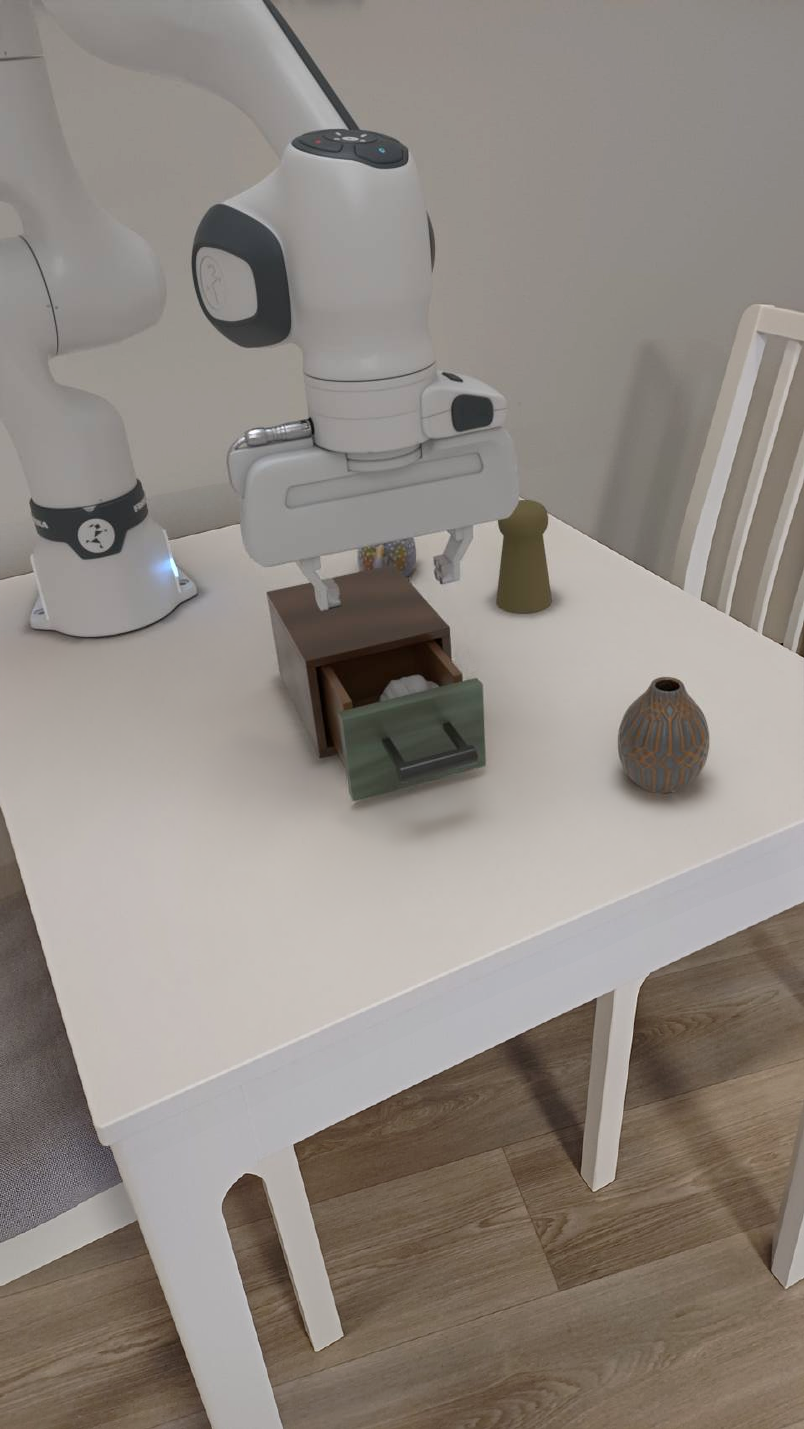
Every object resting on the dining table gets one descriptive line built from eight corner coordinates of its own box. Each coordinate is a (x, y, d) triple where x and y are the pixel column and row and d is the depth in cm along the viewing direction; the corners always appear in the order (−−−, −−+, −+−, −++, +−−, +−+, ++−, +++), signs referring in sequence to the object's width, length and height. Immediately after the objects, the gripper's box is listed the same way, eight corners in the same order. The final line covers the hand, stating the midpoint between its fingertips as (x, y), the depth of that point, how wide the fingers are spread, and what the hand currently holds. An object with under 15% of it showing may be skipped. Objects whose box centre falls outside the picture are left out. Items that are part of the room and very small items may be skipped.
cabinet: (455, 723, 88) (450, 627, 83) (319, 758, 85) (305, 661, 80) (402, 651, 100) (394, 564, 95) (280, 680, 97) (266, 591, 92)
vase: (641, 744, 83) (647, 653, 79) (720, 771, 79) (731, 676, 75) (600, 785, 79) (603, 691, 74) (680, 816, 75) (689, 718, 70)
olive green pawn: (549, 614, 105) (550, 515, 99) (492, 612, 106) (489, 515, 100) (554, 589, 109) (554, 493, 104) (499, 588, 111) (496, 493, 105)
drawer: (513, 801, 77) (511, 716, 72) (373, 840, 74) (362, 755, 70) (428, 689, 92) (423, 613, 88) (310, 718, 89) (298, 642, 85)
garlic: (372, 726, 79) (352, 695, 83) (410, 763, 82) (390, 732, 87) (428, 676, 79) (406, 648, 83) (464, 715, 82) (441, 686, 86)
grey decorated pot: (365, 560, 120) (359, 508, 116) (421, 560, 119) (417, 507, 115) (345, 605, 110) (338, 549, 107) (406, 605, 109) (401, 548, 105)
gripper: (230, 447, 62) (263, 641, 69) (529, 395, 67) (529, 582, 74) (212, 421, 67) (244, 604, 75) (491, 375, 72) (494, 551, 79)
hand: (388, 593), depth 74 cm, fingers open, 8 cm apart
